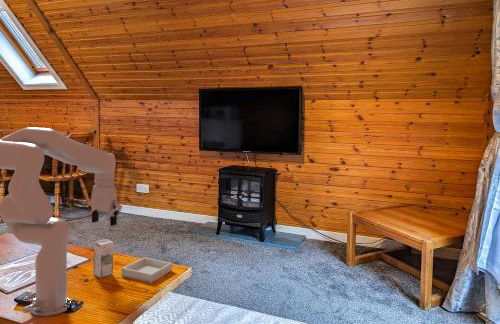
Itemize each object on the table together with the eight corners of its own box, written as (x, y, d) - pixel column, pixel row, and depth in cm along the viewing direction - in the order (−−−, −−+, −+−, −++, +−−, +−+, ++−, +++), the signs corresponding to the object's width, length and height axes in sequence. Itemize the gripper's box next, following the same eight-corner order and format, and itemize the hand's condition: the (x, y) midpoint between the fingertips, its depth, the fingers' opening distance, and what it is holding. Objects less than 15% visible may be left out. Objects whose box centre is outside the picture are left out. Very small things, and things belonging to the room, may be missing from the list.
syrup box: (105, 271, 167) (106, 238, 166) (113, 274, 164) (113, 241, 162) (93, 274, 163) (93, 241, 161) (100, 278, 159) (100, 244, 158)
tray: (151, 283, 157) (151, 274, 157) (121, 276, 163) (121, 268, 162) (171, 270, 171) (172, 263, 171) (144, 264, 177) (144, 257, 176)
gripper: (81, 181, 159) (81, 222, 161) (114, 186, 153) (114, 228, 154) (95, 179, 166) (94, 218, 168) (127, 184, 160) (126, 224, 161)
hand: (104, 223), depth 161 cm, fingers open, 9 cm apart
